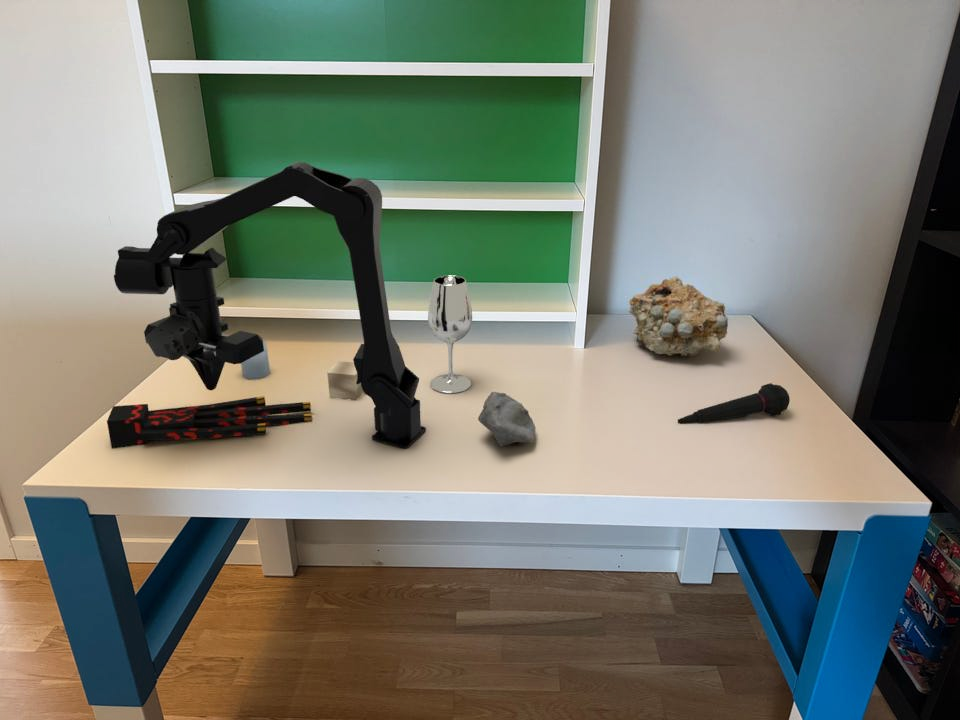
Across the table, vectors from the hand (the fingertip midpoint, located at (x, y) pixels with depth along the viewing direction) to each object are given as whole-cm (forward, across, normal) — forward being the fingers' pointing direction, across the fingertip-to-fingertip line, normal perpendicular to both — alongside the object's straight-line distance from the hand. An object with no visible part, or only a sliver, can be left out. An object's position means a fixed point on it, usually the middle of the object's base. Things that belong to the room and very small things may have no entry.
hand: (211, 389), depth 108 cm
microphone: (+8, +74, +42) cm, 85 cm away
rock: (+7, +60, +66) cm, 90 cm away
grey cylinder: (+7, -9, +19) cm, 22 cm away
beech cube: (+7, +11, +20) cm, 24 cm away
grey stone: (+8, +43, +17) cm, 47 cm away
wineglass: (+7, +26, +31) cm, 41 cm away
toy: (+8, 0, 0) cm, 8 cm away
